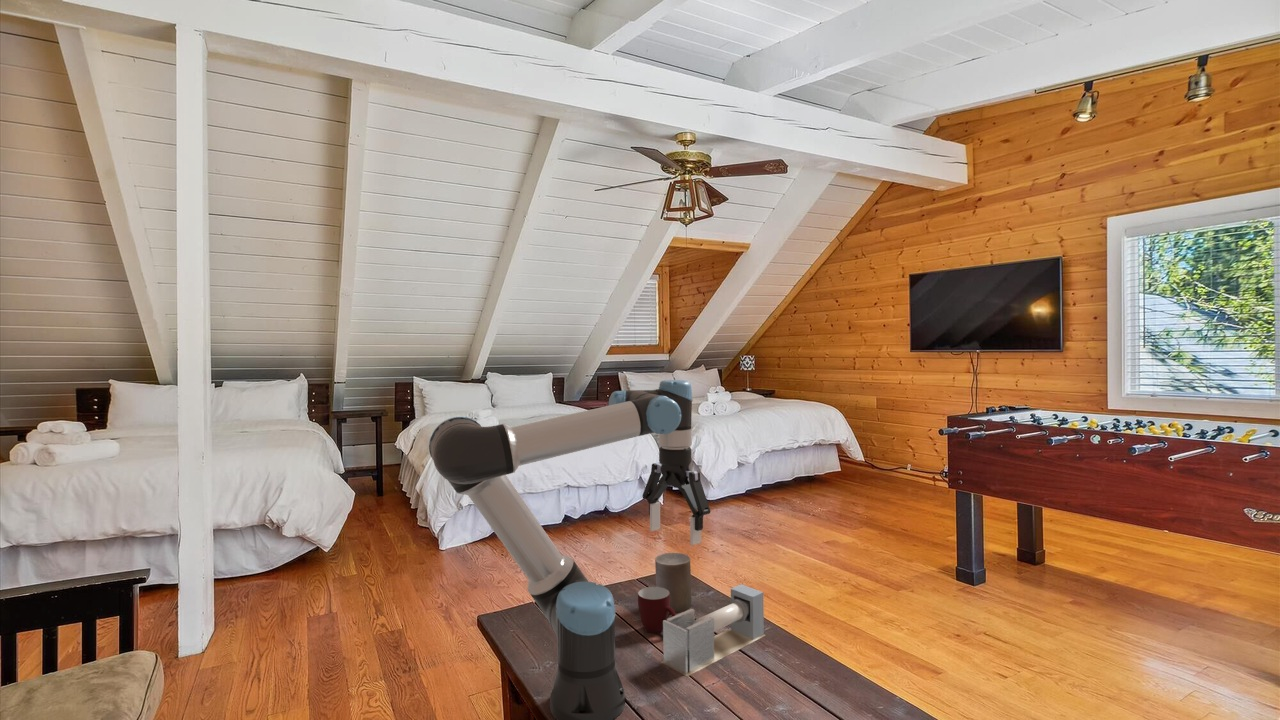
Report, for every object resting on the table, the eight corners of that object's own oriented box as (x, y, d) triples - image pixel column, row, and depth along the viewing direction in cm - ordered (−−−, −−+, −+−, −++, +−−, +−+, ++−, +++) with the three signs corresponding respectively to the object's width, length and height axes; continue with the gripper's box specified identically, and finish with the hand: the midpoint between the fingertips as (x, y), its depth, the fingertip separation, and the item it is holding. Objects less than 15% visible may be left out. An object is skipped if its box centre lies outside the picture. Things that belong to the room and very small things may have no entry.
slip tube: (708, 643, 149) (707, 620, 148) (691, 635, 153) (691, 613, 152) (758, 618, 161) (757, 598, 160) (741, 612, 164) (741, 591, 164)
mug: (684, 630, 165) (684, 592, 164) (670, 644, 158) (669, 604, 158) (648, 622, 170) (647, 584, 170) (632, 635, 163) (631, 595, 163)
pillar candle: (697, 604, 180) (696, 551, 180) (681, 618, 172) (679, 562, 171) (667, 598, 185) (665, 545, 185) (649, 611, 177) (647, 556, 177)
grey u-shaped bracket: (685, 674, 143) (685, 631, 142) (663, 662, 148) (663, 620, 148) (714, 659, 149) (713, 618, 148) (692, 648, 154) (691, 608, 154)
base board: (687, 680, 142) (687, 676, 142) (660, 665, 148) (660, 662, 148) (766, 638, 160) (765, 635, 160) (739, 627, 167) (739, 623, 167)
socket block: (753, 639, 158) (752, 597, 158) (731, 629, 163) (730, 588, 163) (763, 634, 161) (763, 592, 160) (741, 624, 166) (741, 584, 165)
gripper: (726, 452, 146) (725, 546, 147) (651, 438, 164) (650, 521, 165) (703, 456, 141) (702, 553, 142) (628, 441, 160) (628, 527, 160)
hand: (674, 536), depth 154 cm, fingers open, 13 cm apart
